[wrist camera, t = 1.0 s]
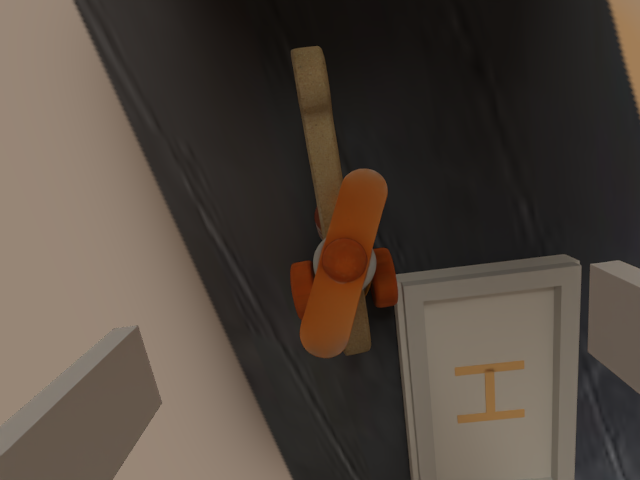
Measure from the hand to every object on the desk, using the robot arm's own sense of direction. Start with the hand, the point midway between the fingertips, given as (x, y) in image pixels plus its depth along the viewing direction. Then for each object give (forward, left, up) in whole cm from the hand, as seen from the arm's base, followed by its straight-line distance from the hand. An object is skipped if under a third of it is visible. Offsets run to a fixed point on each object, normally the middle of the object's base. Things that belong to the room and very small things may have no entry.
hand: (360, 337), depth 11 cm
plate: (+18, +11, -21) cm, 30 cm away
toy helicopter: (0, -1, -22) cm, 22 cm away
